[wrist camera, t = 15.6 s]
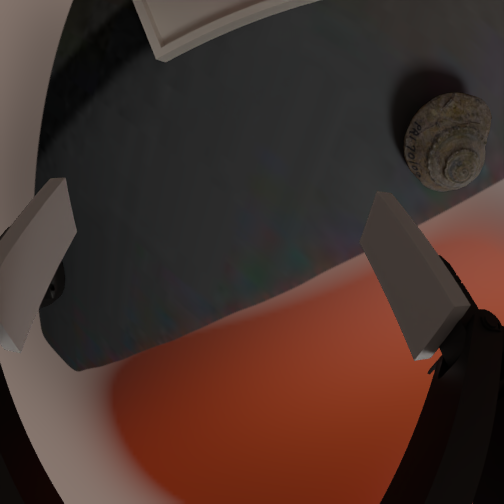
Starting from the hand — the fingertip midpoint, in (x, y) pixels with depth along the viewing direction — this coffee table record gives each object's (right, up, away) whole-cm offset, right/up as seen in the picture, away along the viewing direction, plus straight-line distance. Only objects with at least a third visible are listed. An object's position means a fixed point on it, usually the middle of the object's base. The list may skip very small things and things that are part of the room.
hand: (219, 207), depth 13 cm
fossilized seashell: (+23, +11, +17) cm, 30 cm away
